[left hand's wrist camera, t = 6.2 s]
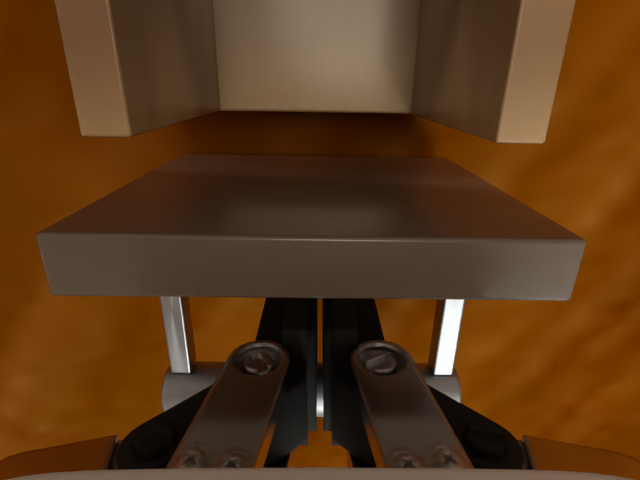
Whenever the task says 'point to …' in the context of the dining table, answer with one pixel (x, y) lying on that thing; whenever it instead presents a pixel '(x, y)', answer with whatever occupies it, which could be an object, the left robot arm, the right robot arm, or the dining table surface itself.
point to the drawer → (312, 161)
